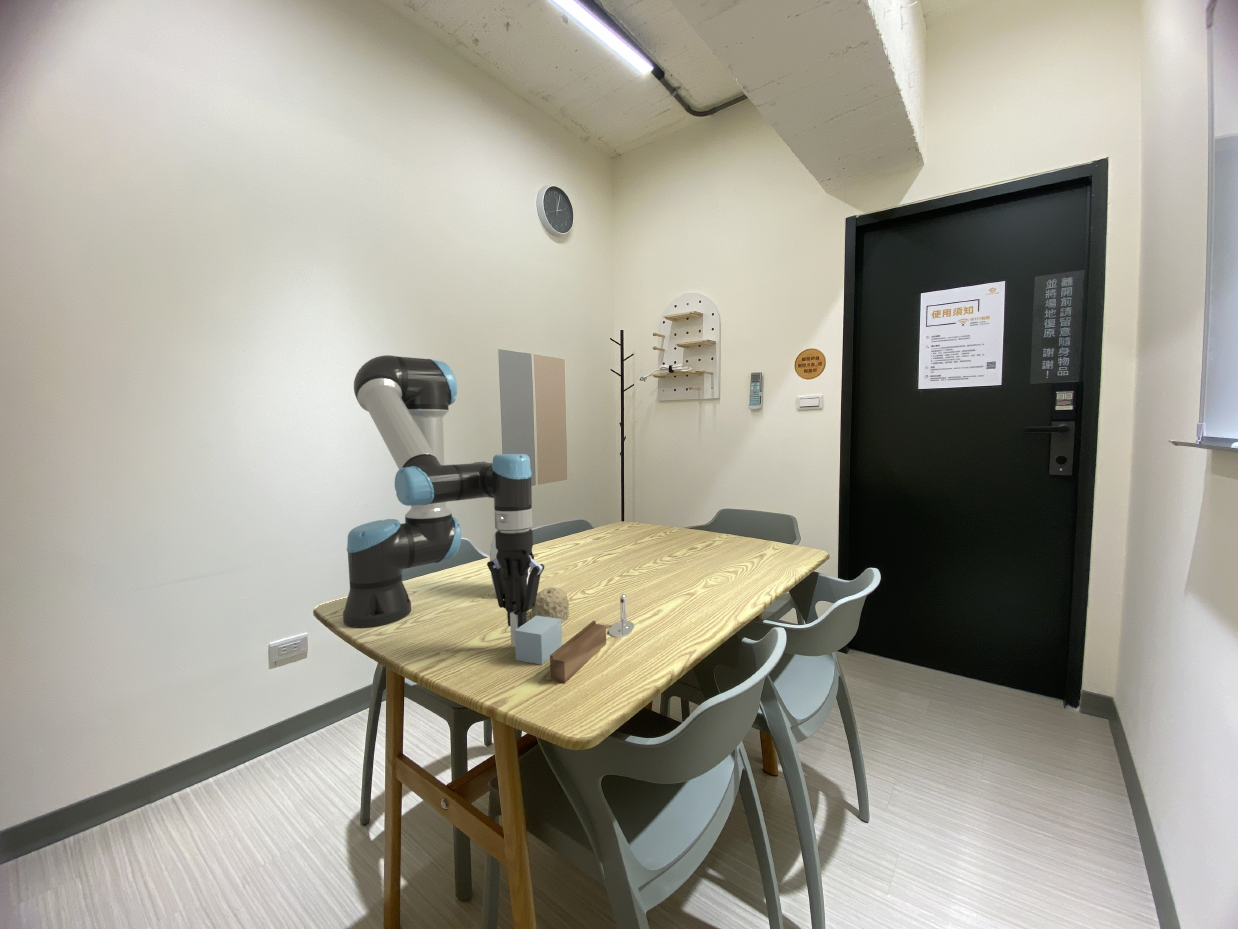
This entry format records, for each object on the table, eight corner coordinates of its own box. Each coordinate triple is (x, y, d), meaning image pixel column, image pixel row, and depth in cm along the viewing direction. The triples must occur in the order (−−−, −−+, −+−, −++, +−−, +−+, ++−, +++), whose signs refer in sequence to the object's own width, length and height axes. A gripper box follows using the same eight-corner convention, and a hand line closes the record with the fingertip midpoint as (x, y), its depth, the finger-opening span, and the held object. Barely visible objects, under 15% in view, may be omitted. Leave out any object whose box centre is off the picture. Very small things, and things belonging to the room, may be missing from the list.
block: (515, 659, 93) (514, 630, 93) (537, 643, 100) (536, 615, 100) (542, 664, 91) (541, 634, 90) (561, 647, 98) (561, 619, 98)
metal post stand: (605, 636, 104) (616, 622, 111) (627, 638, 102) (636, 624, 110) (604, 602, 103) (615, 590, 111) (626, 604, 102) (636, 591, 109)
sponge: (549, 642, 110) (572, 609, 108) (517, 617, 111) (539, 584, 109) (562, 626, 119) (583, 595, 117) (532, 603, 120) (552, 572, 118)
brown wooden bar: (550, 680, 85) (549, 655, 85) (593, 641, 101) (593, 620, 100) (564, 683, 84) (564, 658, 84) (606, 644, 99) (605, 622, 99)
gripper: (476, 530, 95) (480, 644, 97) (529, 535, 90) (533, 655, 91) (500, 524, 102) (504, 630, 104) (551, 527, 97) (554, 639, 98)
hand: (517, 641), depth 97 cm, fingers closed
